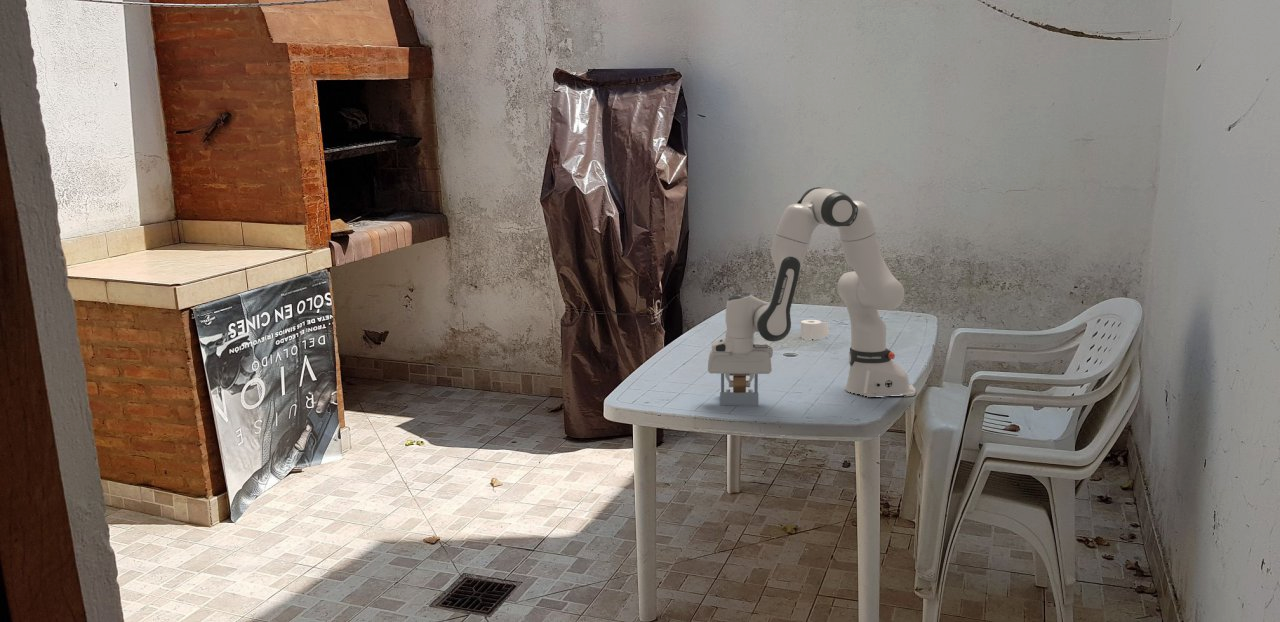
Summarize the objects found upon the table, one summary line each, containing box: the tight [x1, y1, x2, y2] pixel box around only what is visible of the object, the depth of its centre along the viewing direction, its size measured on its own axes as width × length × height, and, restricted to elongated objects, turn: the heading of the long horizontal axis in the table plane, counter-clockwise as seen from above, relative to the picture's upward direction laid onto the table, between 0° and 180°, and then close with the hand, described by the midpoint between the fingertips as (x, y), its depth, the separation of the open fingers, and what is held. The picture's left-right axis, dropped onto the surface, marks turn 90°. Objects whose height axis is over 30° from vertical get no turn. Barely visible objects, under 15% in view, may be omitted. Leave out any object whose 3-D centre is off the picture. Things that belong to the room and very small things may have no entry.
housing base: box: [719, 374, 759, 407], centre depth 314 cm, size 12×11×8 cm
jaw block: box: [732, 375, 747, 393], centre depth 312 cm, size 4×4×5 cm
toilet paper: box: [800, 319, 830, 339], centre depth 400 cm, size 8×11×7 cm
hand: (739, 386), depth 312 cm, fingers closed on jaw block, 4 cm apart
